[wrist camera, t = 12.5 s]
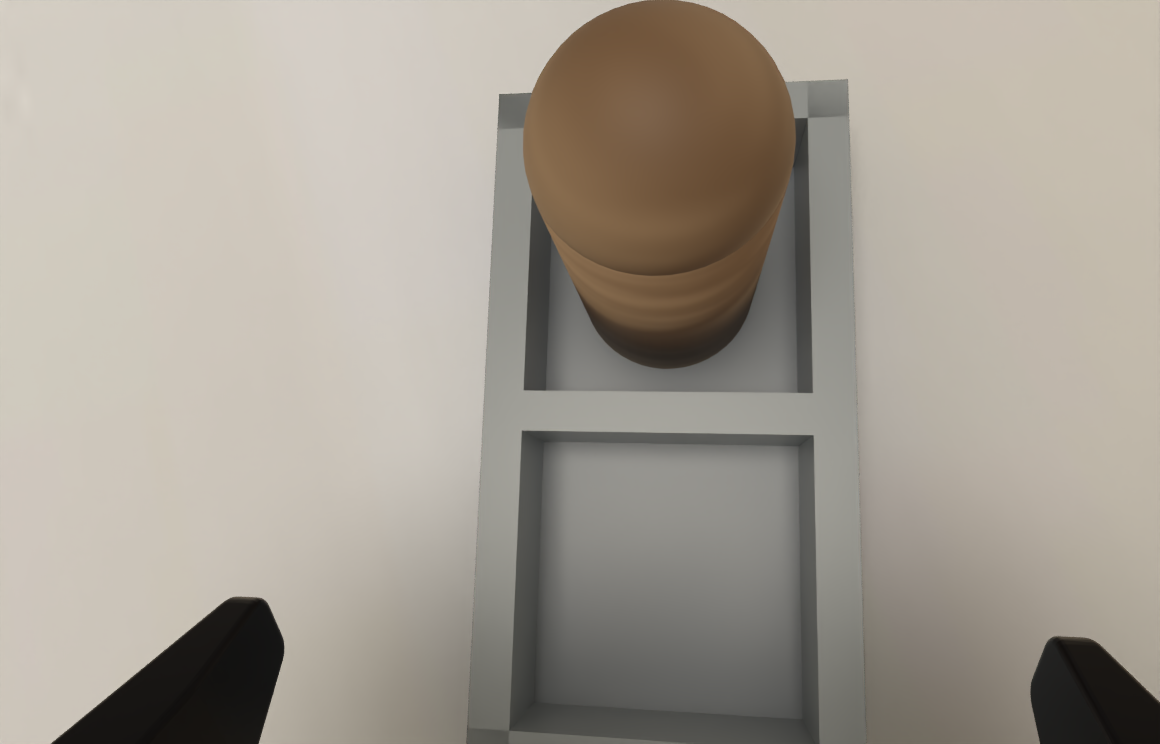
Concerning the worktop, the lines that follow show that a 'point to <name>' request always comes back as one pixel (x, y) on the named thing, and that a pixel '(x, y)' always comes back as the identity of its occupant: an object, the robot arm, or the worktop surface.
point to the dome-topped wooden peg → (661, 173)
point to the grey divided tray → (673, 491)
